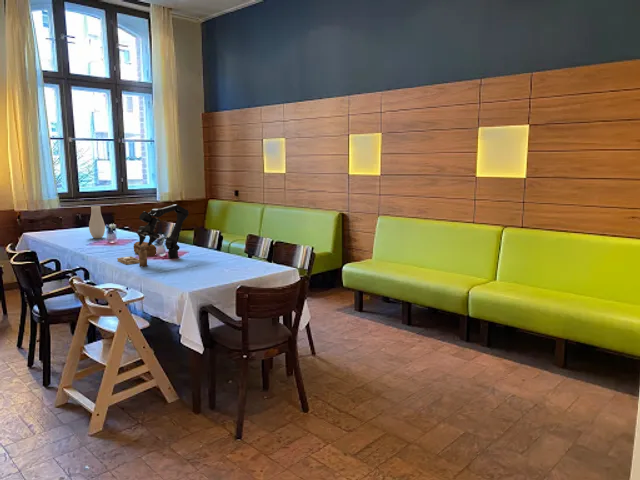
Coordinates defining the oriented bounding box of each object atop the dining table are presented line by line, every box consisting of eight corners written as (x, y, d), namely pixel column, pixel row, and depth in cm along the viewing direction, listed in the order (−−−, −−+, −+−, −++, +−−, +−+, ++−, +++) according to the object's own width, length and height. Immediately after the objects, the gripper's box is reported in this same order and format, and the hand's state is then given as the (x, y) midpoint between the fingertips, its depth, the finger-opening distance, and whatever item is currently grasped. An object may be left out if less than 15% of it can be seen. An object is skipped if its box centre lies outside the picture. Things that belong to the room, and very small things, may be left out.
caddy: (131, 259, 361) (130, 256, 360) (140, 263, 349) (140, 259, 349) (117, 261, 354) (117, 258, 353) (126, 265, 342) (126, 261, 342)
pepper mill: (146, 265, 344) (145, 245, 342) (148, 266, 340) (147, 246, 337) (138, 265, 341) (137, 245, 338) (140, 267, 337) (139, 247, 334)
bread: (133, 253, 384) (132, 241, 383) (146, 252, 392) (145, 240, 390) (144, 257, 372) (143, 244, 370) (157, 255, 379) (156, 242, 377)
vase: (106, 238, 457) (104, 206, 452) (90, 239, 450) (88, 207, 445) (104, 236, 469) (102, 205, 464) (89, 237, 462) (86, 206, 457)
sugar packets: (128, 260, 357) (128, 257, 356) (130, 260, 355) (130, 257, 354) (122, 261, 354) (122, 257, 353) (124, 261, 352) (124, 258, 351)
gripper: (134, 220, 350) (127, 240, 346) (151, 222, 340) (144, 242, 336) (146, 225, 359) (139, 245, 355) (163, 227, 349) (156, 248, 345)
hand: (144, 245), depth 347 cm, fingers open, 9 cm apart
